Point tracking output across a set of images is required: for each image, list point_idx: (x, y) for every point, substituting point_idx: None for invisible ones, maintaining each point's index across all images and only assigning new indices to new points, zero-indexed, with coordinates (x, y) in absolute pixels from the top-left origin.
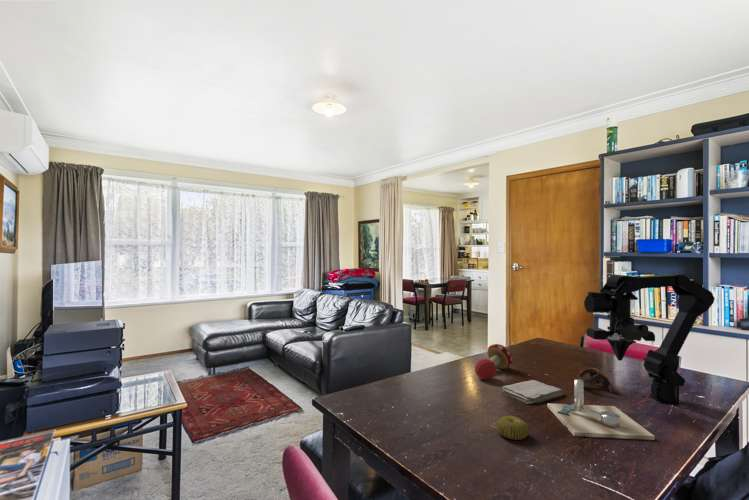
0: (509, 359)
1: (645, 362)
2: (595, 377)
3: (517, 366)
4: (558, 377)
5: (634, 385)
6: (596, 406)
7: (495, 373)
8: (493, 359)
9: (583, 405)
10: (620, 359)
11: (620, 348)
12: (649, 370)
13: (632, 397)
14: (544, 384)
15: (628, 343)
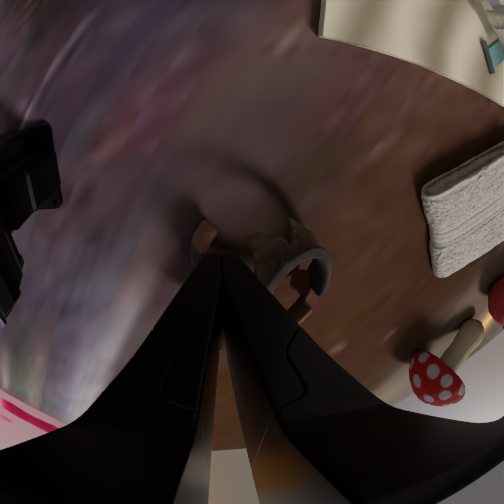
0: (441, 363)
1: (3, 302)
2: (299, 252)
3: (370, 376)
4: (317, 333)
5: (78, 297)
6: (399, 47)
7: (499, 292)
8: (464, 356)
9: (501, 5)
10: (224, 255)
11: (263, 367)
12: (7, 245)
13: (135, 178)
14: (449, 241)
15: (107, 473)
